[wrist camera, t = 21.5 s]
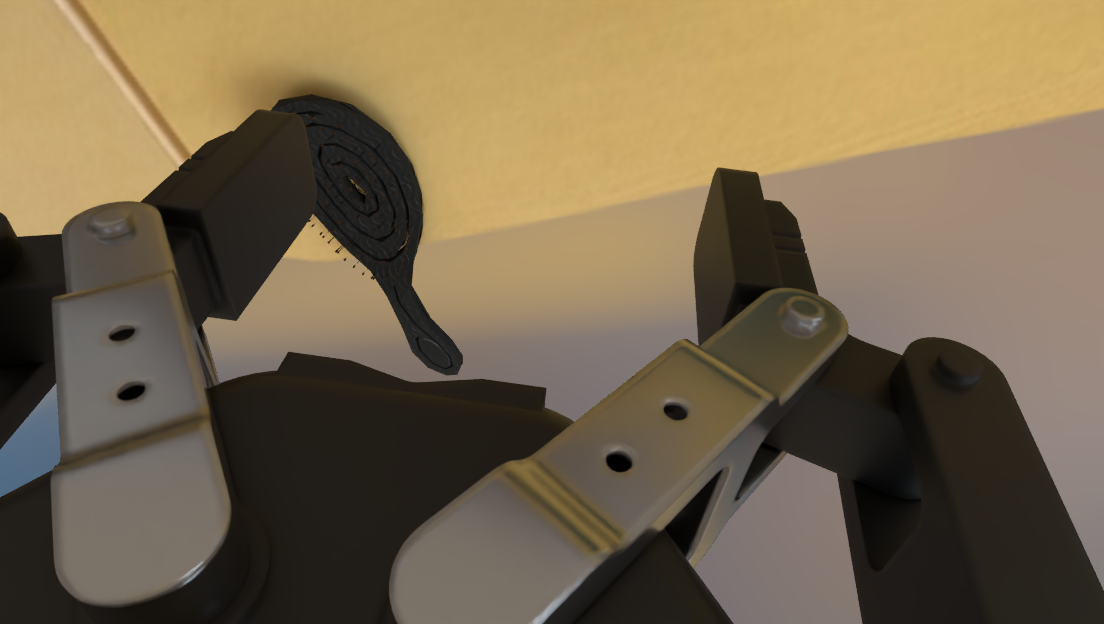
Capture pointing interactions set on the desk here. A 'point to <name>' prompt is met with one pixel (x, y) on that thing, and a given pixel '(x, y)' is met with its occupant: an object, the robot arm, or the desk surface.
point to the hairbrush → (373, 211)
